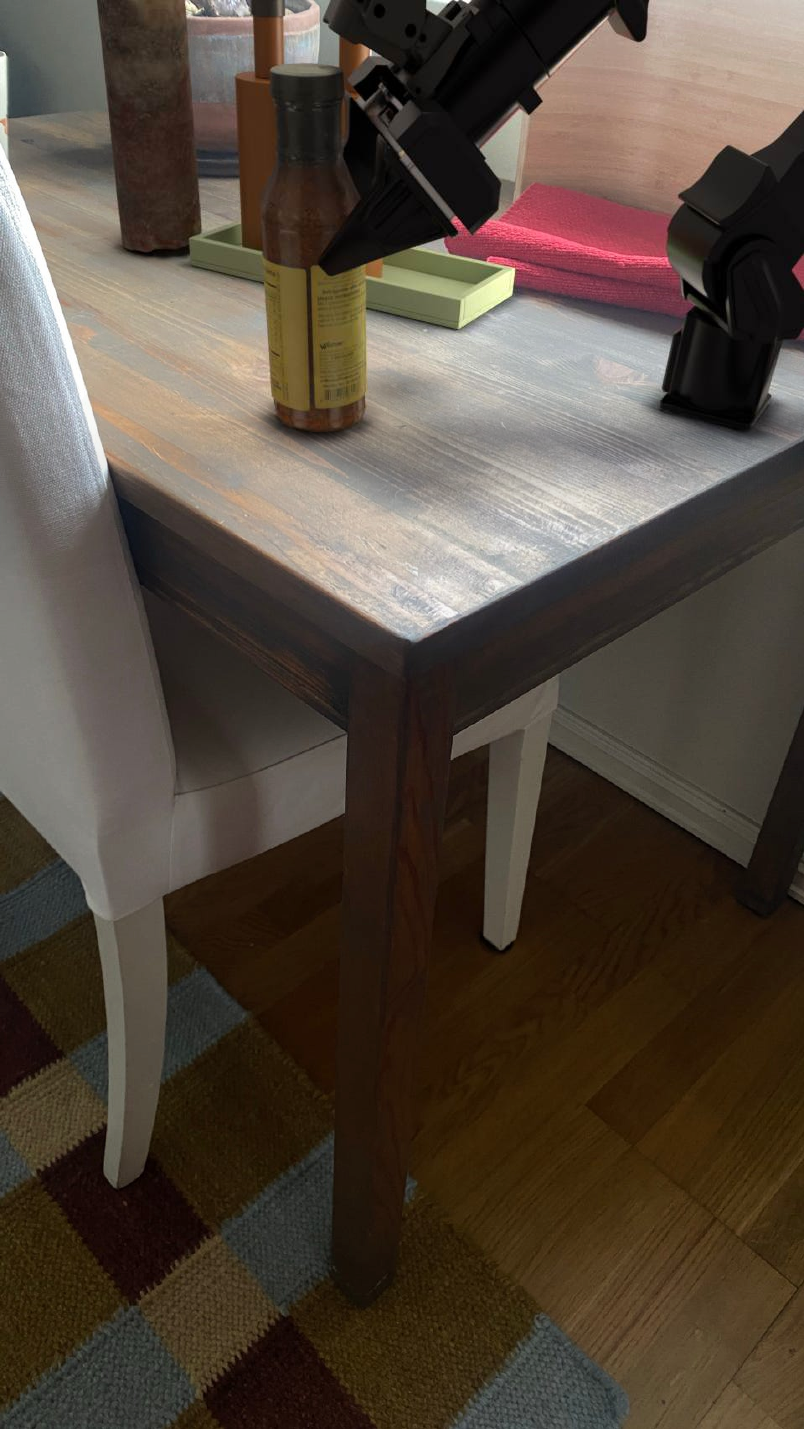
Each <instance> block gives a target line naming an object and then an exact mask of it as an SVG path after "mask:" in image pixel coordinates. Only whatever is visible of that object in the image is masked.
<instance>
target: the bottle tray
mask: <svg viewBox="0 0 804 1429" xmlns="http://www.w3.org/2000/svg"><path fill="white" fill-rule="evenodd" d="M250 15H251V16H252V32H253V33H252V34H253V36H252V37H253V62H254V71H253V70H251V71H242V72H239V73H236V74H235V75H234V82H235V83H234V89H235V109H236V110H235V111H236V130H237V131H236V132H237V133H236V135H237V136H236V137H237V157H238V179H239V180H238V182H239V203H240V204H239V206H240V219H239V220H235V221H232V222H229V223H227V224H224V225H221V226H219V227H216V228H213V229H210V230H207V231H205V232H201V234H199V235H196V236H193V237H191V238H189V244H188V245H189V255H190V256H189V257H190V266H193V267H197V268H201V269H206V270H210V271H213V272H218V273H221V274H226V275H230V276H233V277H234V276H235V277H238V278H243V279H247V280H251V281H256V282H260V283H263V284H264V276H263V262H262V251H263V237H262V225H261V205H260V198H261V195H262V190H263V189H264V187H265V184H266V182H267V180H268V178H269V176H270V174H271V172H272V170H273V168H274V166H275V164H276V160H277V159H276V151H275V146H276V144H277V139H276V120H275V104H274V101H273V99H272V97H271V94H270V70H271V68H272V67H274V66H278V65H283V64H285V42H284V41H285V38H284V37H285V36H284V35H285V33H284V31H285V30H284V17H286V0H250ZM368 56H371V49H369V48H367V47H366V46H364V45H362V44H357V45H354V44H352V43H351V42H349V41H347V40H346V39H344V38H343V37H341V36H339V35H338V67H339V68H341V69H342V71H343V74H344V91H346V90H347V91H348V92H349V94H350V95H351V96H352V97H353V99H354V100H355V101H356V100H357V99H358V98H359V96H360V95H359V94H358V93H357V92H356V90H355V89H354V88H353V87H352V85H351V84H350V83H349V82H348V80H347V79H348V78H349V77H350V75H351V74H352V73H353V72H354V71H355V70H356V69H357V68H358V67H359V65H360V64H361V63H362V62H363V61H364V60H365V59H366V58H367V57H368ZM341 110H342V111H341V129H342V139H343V137H344V134H345V101H344V98H343V101H342V107H341ZM365 266H366V309H371V310H374V311H375V310H376V311H380V312H384V313H387V314H388V313H389V314H392V315H396V316H401V317H405V318H409V319H413V320H417V321H422V322H426V323H430V324H434V325H437V326H442V327H447V328H451V329H455V330H460V329H462V328H463V327H464V326H466V325H468V324H469V323H471V322H473V321H474V320H476V319H477V318H479V317H480V316H482V315H484V314H485V313H487V312H488V311H490V310H491V309H493V308H495V307H496V306H497V305H499V304H501V303H502V302H504V301H505V300H507V299H509V298H510V297H512V296H513V290H514V285H515V284H514V283H515V282H514V281H515V275H516V267H513V266H508V265H503V264H498V263H493V262H490V261H489V262H488V261H484V260H481V259H474V258H470V257H466V256H461V255H457V254H456V255H455V254H453V253H452V254H451V253H447V252H442V251H437V250H433V249H428V248H424V247H420V246H416V247H413V248H410V249H407V250H404V251H401V252H398V253H395V254H393V255H390V256H387V257H384V258H381V259H378V260H376V261H373V262H370V263H368V264H365Z"/></svg>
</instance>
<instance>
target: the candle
mask: <svg viewBox="0 0 804 1429" xmlns="http://www.w3.org/2000/svg"><path fill="white" fill-rule="evenodd" d="M96 6H97V16H98V26H99V33H100V34H99V35H100V41H101V52H102V53H101V54H102V61H103V62H102V64H103V72H104V82H105V89H106V91H105V92H106V101H107V109H108V120H109V121H108V122H109V132H110V141H111V142H110V143H111V149H112V159H113V170H114V181H115V191H116V199H117V200H116V201H117V210H118V218H119V226H120V227H119V228H120V237H121V242H122V246H123V248H125V249H126V250H129V251H139V252H143V253H149V252H152V251H154V250H173V251H174V250H178V249H181V248H185V247H187V246H188V245H189V238H191V237H193V236H196V235H199V234H202V233H203V232H202V231H203V227H202V212H201V199H200V198H201V197H200V185H199V184H200V183H199V172H198V170H199V169H198V157H197V146H196V145H197V144H196V134H195V132H196V131H195V120H194V118H195V117H194V106H193V89H192V81H191V80H192V79H191V62H190V46H189V34H188V33H189V32H188V19H187V17H188V16H187V5H186V0H96Z"/></svg>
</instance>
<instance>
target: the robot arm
mask: <svg viewBox="0 0 804 1429" xmlns="http://www.w3.org/2000/svg"><path fill="white" fill-rule="evenodd" d="M427 2H428V1H427V0H329V3H328V5H327V7H326V10H325V13H324V15H323V17H322V22H323V23H325V24H326V25H327V26H328V29H329V30H331V31H332V32H333V33H335V34H336V35H338V37H339V36H341V37H343V38H344V39H346V40H347V41H349V42H351V43H352V44H354V45H357V44H362V45H364V46H366V47H367V48H369V49H370V51H372V52H374V53H375V54H377V56H376V55H370V56H368V57H367V58H366V59H365V60H364V61H363V62H362V63H361V64H360V65H359V67H358V68H357V69H356V70H355V71H354V72H353V73H352V74H351V75H350V77H349V78H348V79H347V80H348V82H349V83H350V84H351V85H352V87H353V88H354V89H355V90H356V92H357V93H358V94H359V95H360V96H359V98H358V99H357V100H356V101H355V100H354V99H353V97H352V96H351V95H350V94H349V92H348V91H347V90H346V91H345V95H344V101H345V134H344V137H343V139H342V146H343V148H344V152H343V158H344V161H345V163H346V166H347V168H348V171H349V173H350V176H351V178H352V181H353V183H354V186H355V188H356V191H357V193H358V195H359V196H360V198H361V199H360V200H359V201H358V203H357V204H356V206H355V207H354V208H353V210H352V211H351V213H350V214H349V215H348V217H347V218H346V220H345V221H344V222H343V224H342V225H341V227H340V228H339V229H338V231H337V232H336V234H335V235H334V236H333V238H332V239H331V241H330V242H329V244H328V245H327V247H326V248H325V250H324V251H323V253H322V254H321V256H320V257H319V259H318V265H319V267H320V268H321V269H322V270H323V271H324V272H325V273H326V274H327V275H328V276H331V277H332V276H335V275H338V274H340V273H343V272H346V271H349V270H351V269H354V268H357V267H359V266H362V265H365V264H368V263H370V262H373V261H376V260H378V259H381V258H384V257H387V256H390V255H393V254H395V253H398V252H401V251H404V250H407V249H410V248H413V247H420V246H422V245H426V244H429V243H432V242H436V241H438V240H441V239H444V238H448V237H450V238H451V239H455V238H457V237H458V236H460V234H461V232H460V231H459V230H458V229H457V227H456V225H454V223H453V222H452V221H453V220H454V219H455V218H457V219H458V220H459V222H460V223H461V224H462V225H463V227H464V228H465V229H466V230H467V231H468V232H469V234H470V235H471V236H474V235H475V234H476V233H477V232H478V231H479V230H480V229H481V228H482V227H483V226H484V225H485V224H486V223H487V222H488V221H489V220H490V219H491V218H492V217H494V215H495V214H496V213H498V211H499V209H500V201H501V192H502V181H501V180H500V178H498V175H496V174H495V172H494V170H492V168H491V167H490V166H489V164H488V163H487V162H486V159H487V157H486V156H485V155H484V154H483V152H482V151H481V149H482V148H483V147H484V146H485V145H486V143H487V142H489V141H490V140H491V138H492V137H494V136H495V135H496V134H497V132H498V131H500V129H502V127H504V125H505V124H506V123H508V122H509V121H510V119H511V118H513V116H514V115H515V114H516V113H517V112H518V111H520V110H521V111H522V112H523V113H524V114H526V115H527V116H530V115H531V114H533V113H534V111H536V109H538V107H539V106H540V105H541V104H542V103H543V102H544V100H543V99H542V98H541V95H539V93H538V91H539V90H540V89H541V88H542V87H543V86H544V85H545V84H546V83H547V82H548V81H549V80H550V79H551V78H552V77H553V75H555V74H556V73H557V71H559V70H560V69H561V68H562V67H563V66H564V65H565V63H566V62H568V60H569V59H571V57H573V56H574V55H575V53H576V52H577V51H579V49H580V48H581V47H582V46H583V45H584V44H585V43H586V42H587V41H588V40H589V39H590V38H591V37H592V36H593V35H594V34H595V33H596V32H597V31H598V30H599V29H600V28H601V27H602V26H603V25H604V24H605V23H606V22H607V21H608V23H609V25H610V26H611V28H612V30H613V32H614V33H615V34H617V35H619V36H621V37H624V38H626V39H628V40H630V41H633V42H634V43H641V42H643V41H644V40H646V37H647V35H648V23H649V6H650V5H649V4H650V0H470V1H469V2H466V1H464V0H450V1H449V2H448V3H447V4H445V6H444V7H443V8H442V9H441V10H440V11H439V12H438V13H437V14H435V13H433V12H432V11H430V10H429V9H427ZM403 151H404V152H405V153H404V154H403V155H402V156H400V154H401V153H402V152H403ZM677 199H679V200H680V201H682V202H683V203H682V204H681V205H680V206H679V207H678V209H677V210H676V212H675V213H674V214H673V216H672V217H671V218H670V221H669V223H668V225H667V227H666V233H667V234H666V235H667V236H666V246H665V250H666V255H667V256H666V257H667V260H668V263H669V265H670V266H671V268H672V270H673V271H674V273H676V274H677V275H678V276H679V277H678V278H679V285H680V294H681V297H682V298H683V299H684V300H686V301H689V302H690V303H691V304H693V305H694V306H692V308H690V309H689V310H688V311H687V312H686V313H685V317H684V321H683V325H682V326H681V327H680V328H678V330H677V331H675V332H674V333H673V335H672V339H671V343H670V348H669V352H668V358H667V360H666V366H665V370H664V376H663V380H662V384H661V390H662V392H664V393H665V395H663V396H662V397H661V399H660V400H659V404H658V407H659V408H660V409H661V410H663V411H668V412H671V413H676V414H679V415H684V416H687V417H691V418H696V419H700V420H704V421H707V422H711V423H715V424H719V425H724V426H728V427H732V428H736V429H739V430H744V431H748V430H751V429H752V428H753V427H754V424H756V422H757V421H758V420H759V418H760V417H761V415H762V414H763V413H764V411H765V410H766V408H767V407H768V405H769V404H770V402H771V399H772V394H771V393H770V392H769V390H770V387H771V384H772V380H773V376H774V373H775V369H776V366H777V363H778V359H779V356H780V352H781V348H782V345H783V342H784V341H786V340H797V339H799V337H800V335H801V334H802V332H803V331H804V288H803V286H802V284H801V283H800V281H799V280H798V278H797V276H796V274H795V273H794V271H793V270H794V269H795V267H796V265H797V264H798V263H799V262H800V260H801V259H802V257H803V256H804V109H803V110H802V111H801V112H800V113H799V115H798V116H797V117H795V119H794V120H793V121H792V122H791V123H790V124H789V125H788V126H787V128H785V129H784V131H783V132H782V133H781V134H780V135H779V136H778V137H777V138H776V139H774V141H772V142H771V143H769V144H768V145H766V146H764V147H762V148H761V149H758V150H757V151H755V152H753V153H751V154H748V153H746V152H745V151H742V150H740V149H738V148H737V147H735V146H733V145H730V144H728V145H726V146H725V147H723V148H722V150H720V152H718V154H716V155H715V157H714V158H713V159H712V161H711V163H710V164H709V166H708V167H707V169H706V170H705V171H704V173H703V174H702V175H701V176H700V178H699V179H698V180H697V181H695V182H694V183H693V184H692V185H691V186H689V187H687V188H686V189H685V190H682V191H681V192H679V193H678V195H677Z"/></svg>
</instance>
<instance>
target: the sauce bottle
mask: <svg viewBox="0 0 804 1429" xmlns="http://www.w3.org/2000/svg"><path fill="white" fill-rule="evenodd" d="M270 94H271V97H272V99H273V101H274V104H275V120H276V139H277V144H276V146H275V151H276V159H277V160H276V164H275V166H274V168H273V170H272V172H271V174H270V176H269V178H268V180H267V182H266V184H265V187H264V189H263V190H262V195H261V198H260V205H261V225H262V237H263V251H262V262H263V276H264V283H263V289H264V302H265V315H266V316H265V317H266V332H267V348H268V361H269V362H268V364H269V380H270V381H269V382H270V392H271V397H272V398H273V405H274V411H275V413H276V415H277V417H278V419H279V421H281V422H282V423H283V425H285V426H286V427H289V428H295V429H300V430H304V431H307V432H311V433H330V432H337V431H342V430H345V429H348V428H351V427H352V426H355V425H357V424H359V422H360V421H361V420H362V419H363V417H364V414H365V411H366V407H367V406H366V404H367V403H366V393H367V390H368V376H367V375H368V372H367V370H368V367H367V366H368V364H367V362H368V360H367V359H368V358H367V356H368V355H367V354H368V352H367V307H366V266H365V265H362V266H359V267H357V268H354V269H351V270H349V271H346V272H343V273H340V274H338V275H335V276H332V277H331V276H328V275H327V274H326V273H325V272H324V271H323V270H322V269H321V268H320V267H319V265H318V259H319V257H320V256H321V254H322V253H323V251H324V250H325V248H326V247H327V245H328V244H329V242H330V241H331V239H332V238H333V236H334V235H335V234H336V232H337V231H338V229H339V228H340V227H341V225H342V224H343V222H344V221H345V220H346V218H347V217H348V215H349V214H350V213H351V211H352V210H353V208H354V207H355V206H356V204H357V203H358V201H359V200H360V199H361V198H360V196H359V195H358V193H357V191H356V188H355V186H354V183H353V181H352V178H351V176H350V173H349V171H348V168H347V166H346V163H345V161H344V158H343V152H344V148H343V146H342V129H341V111H342V110H341V107H342V101H343V98H344V95H345V91H344V74H343V71H342V69H341V68H339V66H335V65H330V64H324V63H313V62H309V63H308V62H307V63H306V62H300V63H284V64H283V65H278V66H274V67H272V68H271V70H270Z"/></svg>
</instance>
